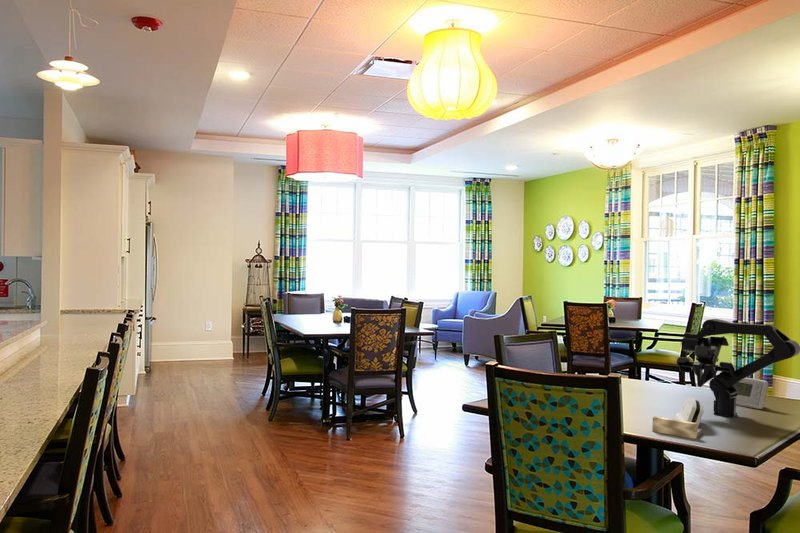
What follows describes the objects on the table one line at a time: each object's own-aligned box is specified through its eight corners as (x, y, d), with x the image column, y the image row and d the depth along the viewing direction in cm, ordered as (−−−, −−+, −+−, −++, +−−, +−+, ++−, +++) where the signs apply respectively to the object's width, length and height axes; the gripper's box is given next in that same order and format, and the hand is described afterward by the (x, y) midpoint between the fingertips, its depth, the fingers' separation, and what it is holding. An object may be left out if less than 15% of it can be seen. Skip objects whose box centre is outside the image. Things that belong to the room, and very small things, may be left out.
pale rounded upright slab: (673, 417, 233) (684, 391, 232) (687, 423, 231) (698, 397, 230) (679, 429, 217) (691, 401, 215) (694, 435, 215) (706, 407, 214)
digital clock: (719, 401, 260) (719, 374, 260) (735, 400, 264) (736, 373, 264) (755, 411, 245) (756, 382, 245) (772, 409, 249) (773, 381, 249)
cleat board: (702, 433, 212) (702, 419, 212) (695, 438, 206) (695, 424, 206) (659, 426, 220) (660, 412, 220) (652, 431, 214) (652, 417, 214)
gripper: (678, 334, 242) (666, 368, 234) (733, 339, 229) (722, 375, 222) (686, 354, 248) (674, 387, 240) (740, 360, 235) (729, 395, 227)
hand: (698, 386), depth 232 cm, fingers closed
